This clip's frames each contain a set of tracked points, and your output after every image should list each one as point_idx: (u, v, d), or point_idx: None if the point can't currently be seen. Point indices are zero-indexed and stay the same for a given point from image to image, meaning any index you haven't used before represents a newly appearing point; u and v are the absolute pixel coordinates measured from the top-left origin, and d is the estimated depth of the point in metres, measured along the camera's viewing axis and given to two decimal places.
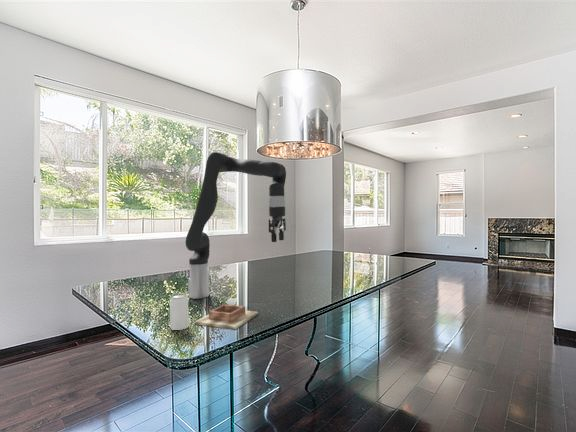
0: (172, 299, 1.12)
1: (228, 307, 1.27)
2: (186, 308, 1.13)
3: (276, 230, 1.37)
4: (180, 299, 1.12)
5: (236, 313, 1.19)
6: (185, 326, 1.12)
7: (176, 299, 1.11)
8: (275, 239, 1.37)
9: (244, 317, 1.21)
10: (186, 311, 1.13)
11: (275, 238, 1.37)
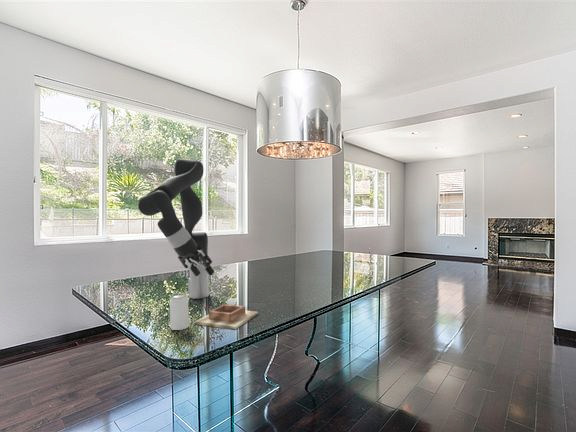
0: (172, 299, 1.12)
1: (228, 307, 1.27)
2: (186, 308, 1.13)
3: (189, 266, 1.17)
4: (180, 299, 1.12)
5: (236, 313, 1.19)
6: (185, 326, 1.12)
7: (176, 299, 1.11)
8: None
9: (244, 317, 1.21)
10: (186, 311, 1.13)
11: (194, 273, 1.19)
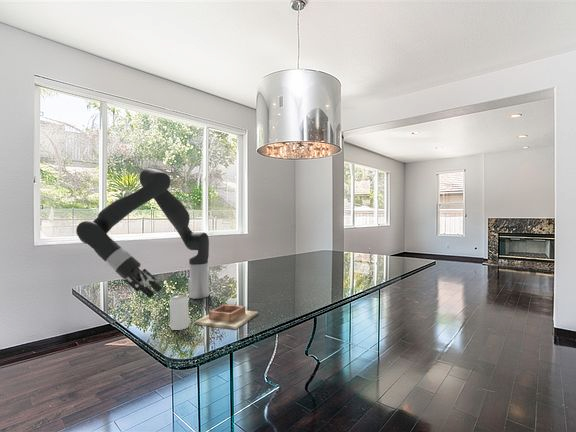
0: (172, 299, 1.12)
1: (228, 307, 1.27)
2: (186, 308, 1.13)
3: (147, 283, 1.17)
4: (180, 299, 1.12)
5: (236, 313, 1.19)
6: (185, 326, 1.12)
7: (176, 299, 1.11)
8: None
9: (244, 317, 1.21)
10: (186, 311, 1.13)
11: None
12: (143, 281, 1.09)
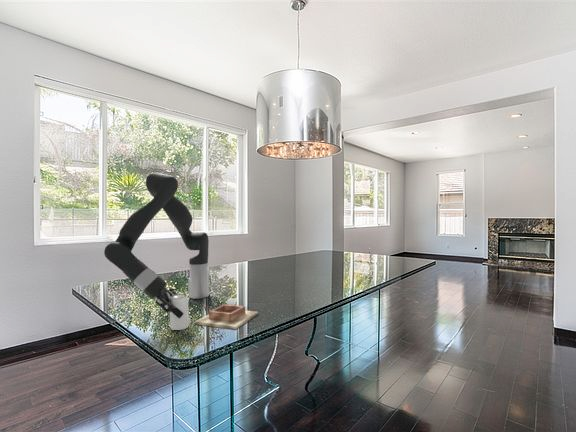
0: (172, 299, 1.12)
1: (228, 307, 1.27)
2: (186, 308, 1.13)
3: None
4: (180, 299, 1.11)
5: (236, 313, 1.19)
6: (185, 326, 1.12)
7: (176, 299, 1.11)
8: None
9: (244, 317, 1.21)
10: (186, 311, 1.13)
11: None
12: (172, 301, 1.11)
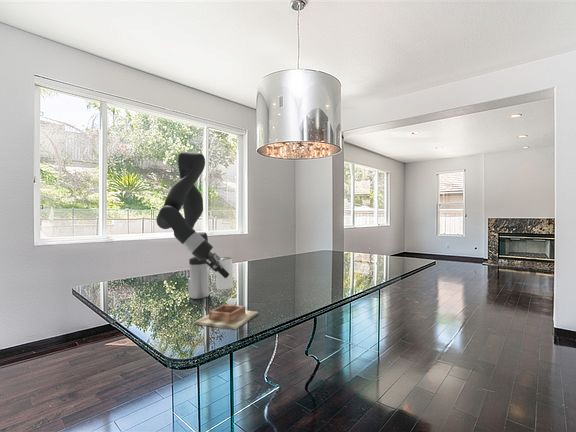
0: (219, 260, 1.20)
1: (228, 307, 1.27)
2: (231, 269, 1.21)
3: None
4: (226, 261, 1.20)
5: (236, 313, 1.19)
6: (230, 286, 1.21)
7: (222, 260, 1.19)
8: None
9: (244, 317, 1.21)
10: (231, 272, 1.21)
11: None
12: (219, 262, 1.19)
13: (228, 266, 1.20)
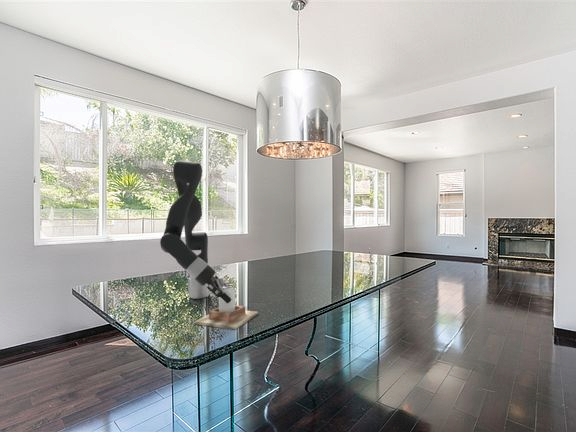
0: None
1: None
2: (234, 298, 1.22)
3: None
4: (229, 289, 1.21)
5: (236, 313, 1.19)
6: None
7: (225, 289, 1.20)
8: None
9: (244, 317, 1.21)
10: (234, 300, 1.22)
11: None
12: (221, 288, 1.19)
13: (231, 295, 1.21)
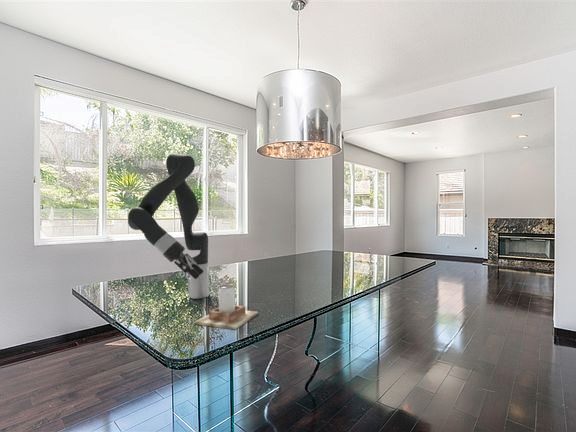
0: (221, 289, 1.21)
1: None
2: (234, 298, 1.22)
3: None
4: (229, 289, 1.21)
5: (236, 313, 1.19)
6: None
7: (225, 289, 1.20)
8: None
9: (244, 317, 1.21)
10: (234, 300, 1.22)
11: None
12: (189, 263, 1.18)
13: (231, 295, 1.21)
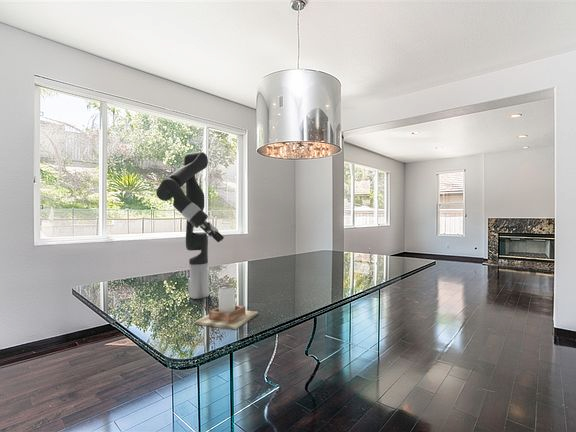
0: (221, 289, 1.21)
1: None
2: (234, 298, 1.22)
3: None
4: (229, 289, 1.21)
5: (236, 313, 1.19)
6: None
7: (225, 289, 1.20)
8: None
9: (244, 317, 1.21)
10: (234, 300, 1.22)
11: None
12: (212, 229, 1.33)
13: (231, 295, 1.21)
